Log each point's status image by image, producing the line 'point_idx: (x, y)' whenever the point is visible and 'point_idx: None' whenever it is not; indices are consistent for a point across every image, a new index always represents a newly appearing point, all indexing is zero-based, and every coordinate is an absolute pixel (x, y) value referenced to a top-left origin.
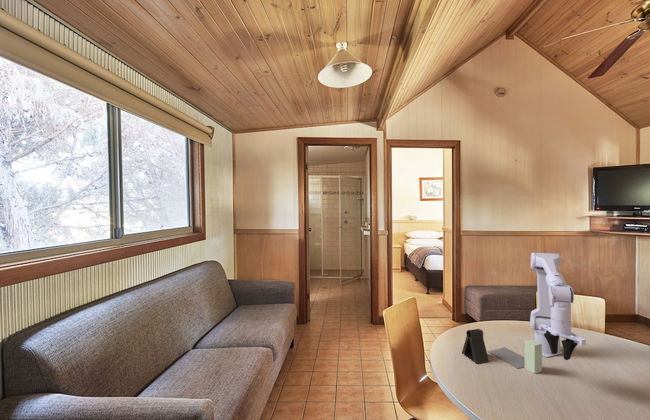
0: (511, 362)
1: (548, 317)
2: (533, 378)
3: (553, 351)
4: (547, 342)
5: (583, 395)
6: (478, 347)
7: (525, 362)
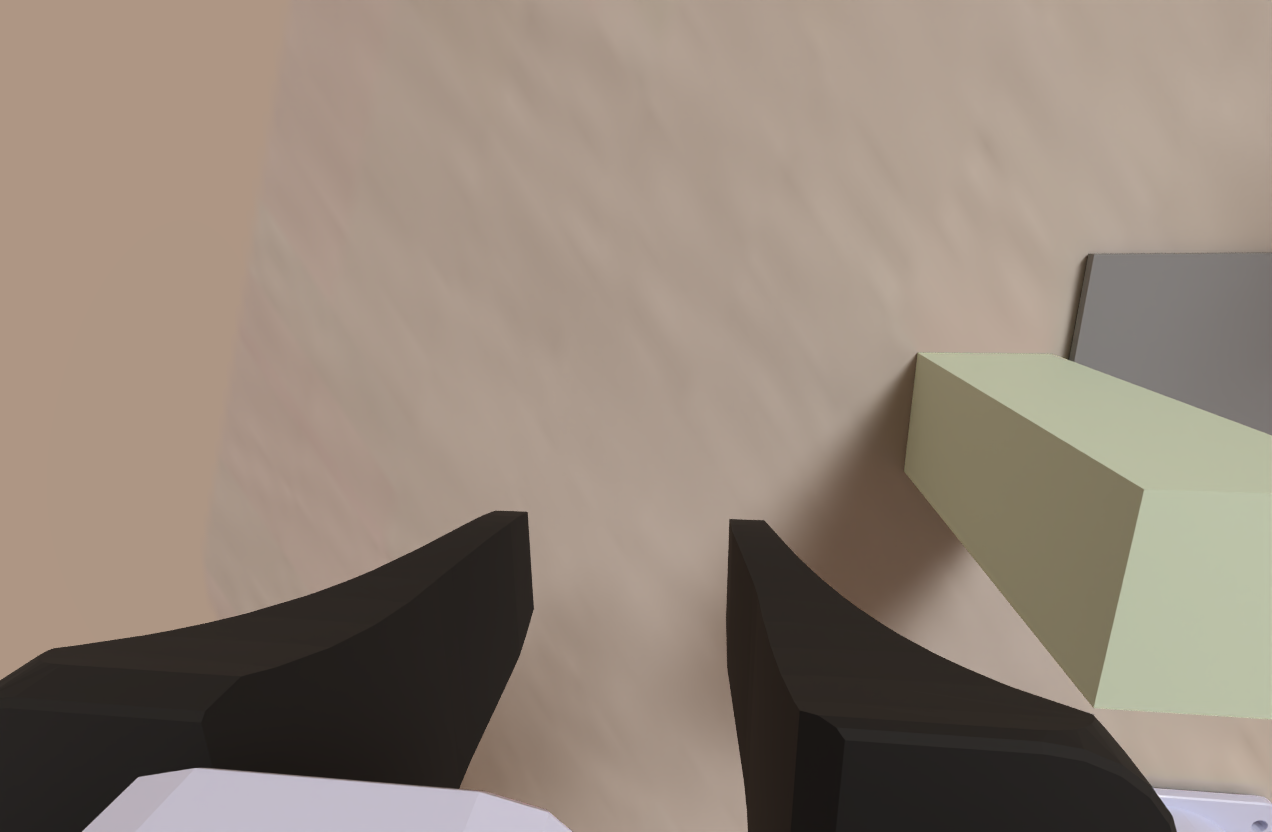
0: (1227, 300)
1: None
2: (860, 240)
3: (731, 549)
4: None
5: (474, 428)
6: None
7: (1084, 369)
